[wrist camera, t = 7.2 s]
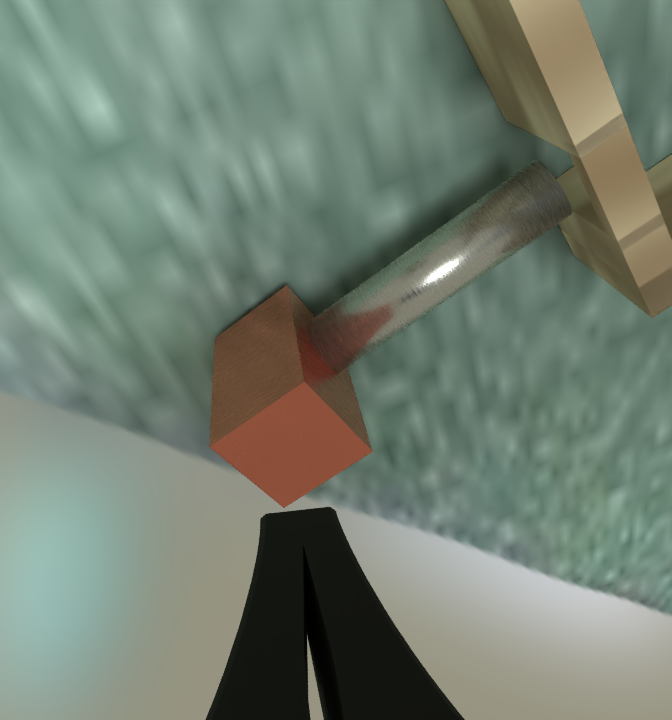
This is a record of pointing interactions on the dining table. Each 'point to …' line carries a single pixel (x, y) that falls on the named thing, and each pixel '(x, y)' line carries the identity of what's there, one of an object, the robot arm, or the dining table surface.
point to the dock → (579, 137)
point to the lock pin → (352, 342)
